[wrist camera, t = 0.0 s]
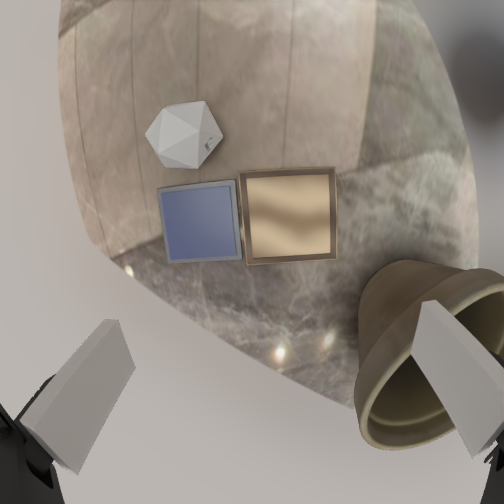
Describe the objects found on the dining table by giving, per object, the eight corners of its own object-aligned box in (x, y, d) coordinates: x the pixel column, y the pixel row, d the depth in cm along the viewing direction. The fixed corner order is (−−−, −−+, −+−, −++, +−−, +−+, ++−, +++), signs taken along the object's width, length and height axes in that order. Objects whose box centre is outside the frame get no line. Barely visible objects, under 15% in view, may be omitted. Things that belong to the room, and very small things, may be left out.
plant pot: (350, 378, 45) (379, 471, 25) (299, 275, 39) (329, 379, 19) (457, 317, 41) (518, 382, 20) (435, 202, 35) (538, 238, 14)
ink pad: (159, 188, 36) (156, 189, 35) (235, 179, 36) (234, 179, 35) (169, 261, 40) (167, 264, 38) (242, 257, 39) (241, 260, 38)
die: (174, 179, 37) (203, 186, 29) (128, 141, 31) (143, 134, 23) (210, 135, 37) (247, 130, 30) (168, 96, 32) (196, 77, 24)
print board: (238, 171, 35) (237, 171, 34) (334, 166, 34) (335, 166, 34) (246, 263, 39) (246, 266, 38) (336, 257, 38) (337, 259, 37)
